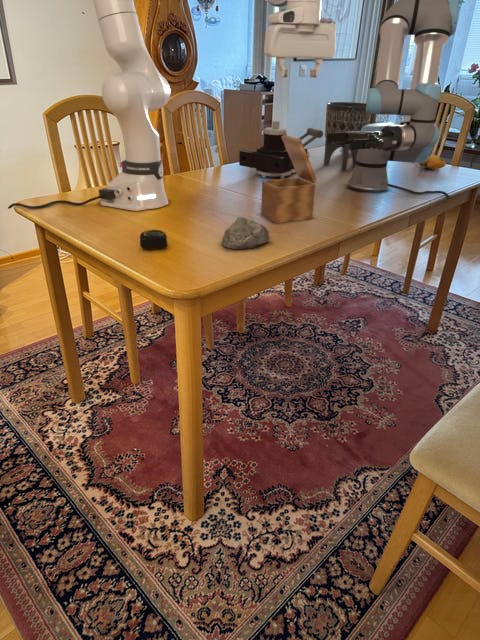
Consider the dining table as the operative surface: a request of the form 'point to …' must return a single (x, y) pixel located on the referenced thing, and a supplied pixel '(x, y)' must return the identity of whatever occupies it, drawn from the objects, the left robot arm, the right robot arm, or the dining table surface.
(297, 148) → the lid
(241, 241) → the rock
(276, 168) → the mechanical component
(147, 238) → the tape measure
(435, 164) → the toy
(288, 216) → the chest
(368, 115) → the planter
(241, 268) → the dining table surface
